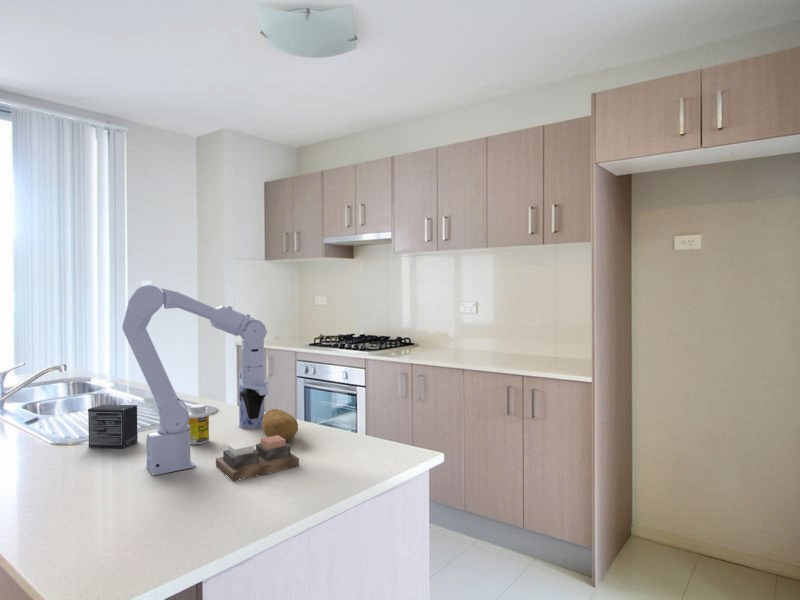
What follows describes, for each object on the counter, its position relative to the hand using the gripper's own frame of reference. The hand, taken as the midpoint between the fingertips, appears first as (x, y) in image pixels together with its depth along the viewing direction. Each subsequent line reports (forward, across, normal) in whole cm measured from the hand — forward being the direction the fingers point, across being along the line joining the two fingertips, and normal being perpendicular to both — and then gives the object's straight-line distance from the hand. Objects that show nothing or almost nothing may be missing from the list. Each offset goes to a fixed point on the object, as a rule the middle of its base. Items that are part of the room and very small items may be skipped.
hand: (253, 418), depth 129 cm
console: (+9, -8, +2) cm, 13 cm away
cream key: (+5, -9, +6) cm, 12 cm away
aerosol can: (+10, +26, -10) cm, 30 cm away
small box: (+10, +32, +27) cm, 43 cm away
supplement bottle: (+10, +20, +8) cm, 23 cm away
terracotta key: (+6, -9, -2) cm, 10 cm away
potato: (+10, +7, -11) cm, 16 cm away
